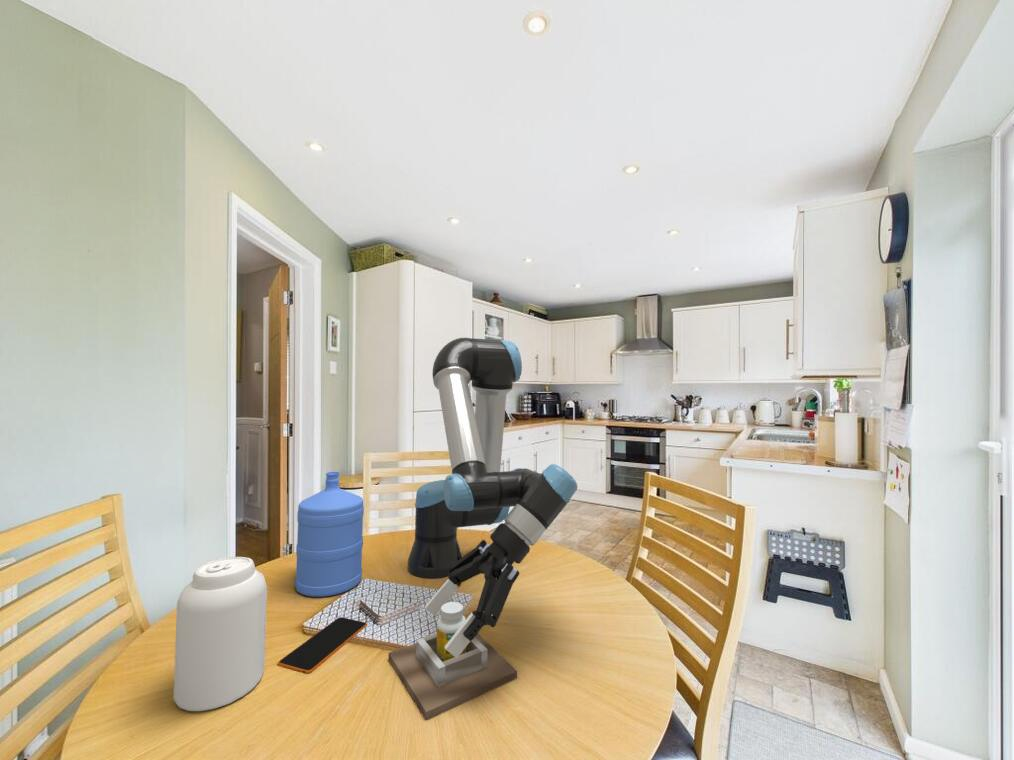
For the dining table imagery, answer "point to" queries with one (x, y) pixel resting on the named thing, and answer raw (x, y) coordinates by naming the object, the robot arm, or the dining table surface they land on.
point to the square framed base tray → (449, 673)
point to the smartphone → (322, 645)
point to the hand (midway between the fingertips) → (439, 630)
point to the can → (220, 634)
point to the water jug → (329, 541)
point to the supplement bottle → (448, 628)
